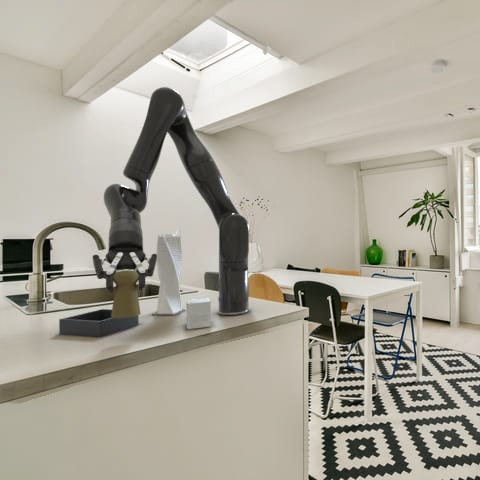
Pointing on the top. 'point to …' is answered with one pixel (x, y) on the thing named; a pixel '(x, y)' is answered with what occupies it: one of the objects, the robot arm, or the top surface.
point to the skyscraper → (169, 273)
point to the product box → (198, 313)
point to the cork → (125, 295)
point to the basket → (95, 323)
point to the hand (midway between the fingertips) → (126, 288)
